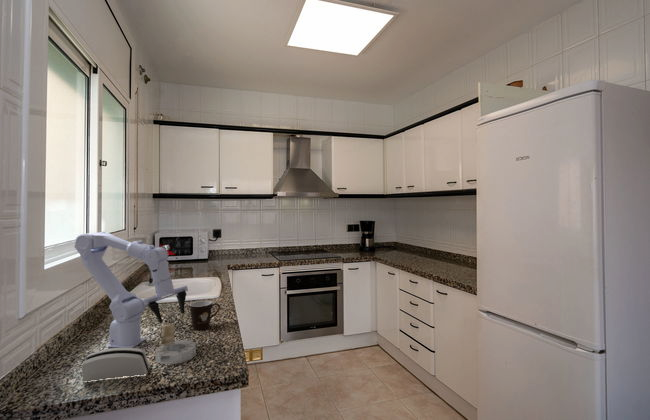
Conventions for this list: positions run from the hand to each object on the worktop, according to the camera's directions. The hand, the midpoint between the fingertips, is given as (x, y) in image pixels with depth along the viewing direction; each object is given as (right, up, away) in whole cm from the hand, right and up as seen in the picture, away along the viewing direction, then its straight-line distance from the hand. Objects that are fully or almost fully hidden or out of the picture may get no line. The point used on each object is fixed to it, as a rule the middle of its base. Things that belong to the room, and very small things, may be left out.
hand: (172, 317), depth 117 cm
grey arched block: (-6, -11, -22) cm, 25 cm away
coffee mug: (+5, -10, +18) cm, 21 cm away
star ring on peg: (+6, -10, -9) cm, 15 cm away
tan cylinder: (-1, -10, 0) cm, 10 cm away
